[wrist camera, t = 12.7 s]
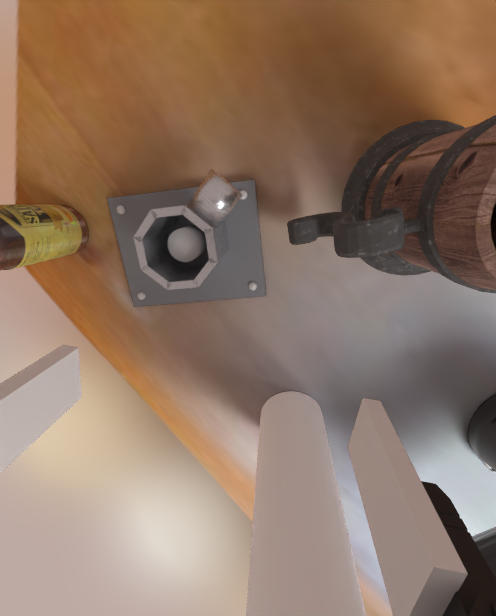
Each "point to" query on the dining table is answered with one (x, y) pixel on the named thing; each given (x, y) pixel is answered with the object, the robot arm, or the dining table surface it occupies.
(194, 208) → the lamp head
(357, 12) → the dining table surface
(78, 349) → the robot arm
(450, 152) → the tankard
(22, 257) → the sauce bottle
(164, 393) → the dining table surface
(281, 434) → the cylinder container
